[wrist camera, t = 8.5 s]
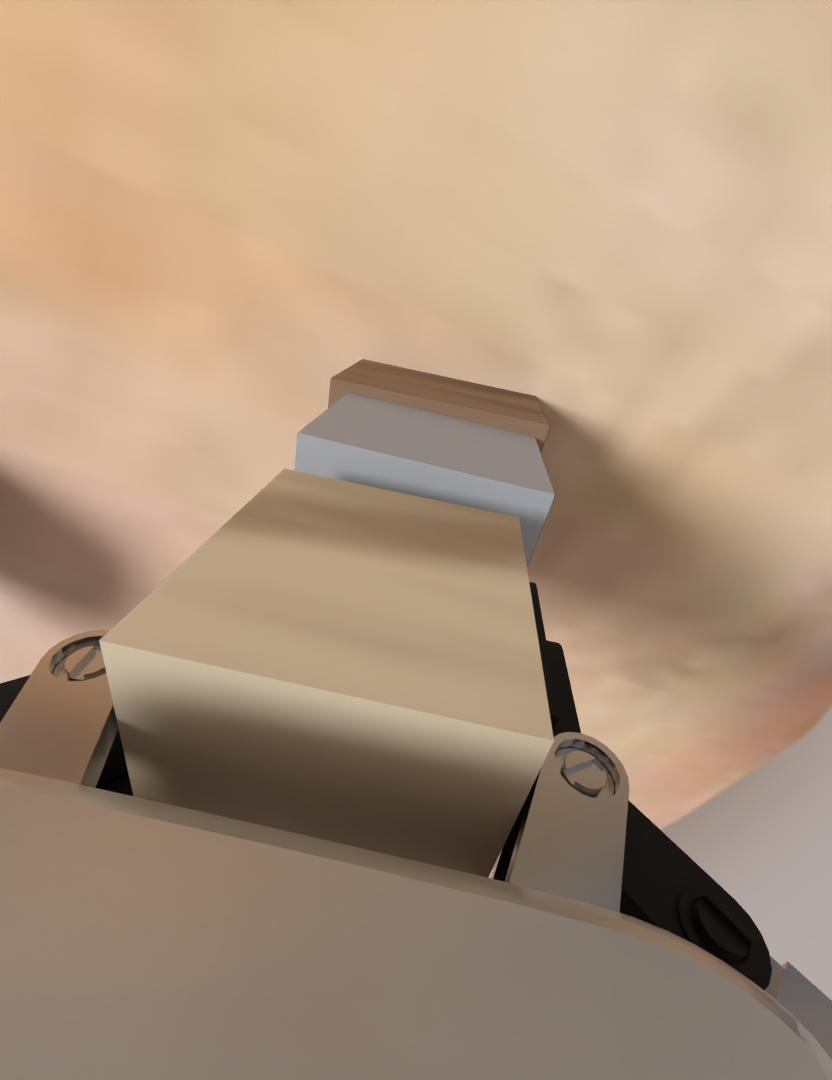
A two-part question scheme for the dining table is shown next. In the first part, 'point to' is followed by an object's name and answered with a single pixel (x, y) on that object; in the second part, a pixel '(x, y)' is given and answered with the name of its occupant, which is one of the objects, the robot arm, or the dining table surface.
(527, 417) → the walnut block
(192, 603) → the maple cube
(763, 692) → the dining table surface
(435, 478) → the grey block
